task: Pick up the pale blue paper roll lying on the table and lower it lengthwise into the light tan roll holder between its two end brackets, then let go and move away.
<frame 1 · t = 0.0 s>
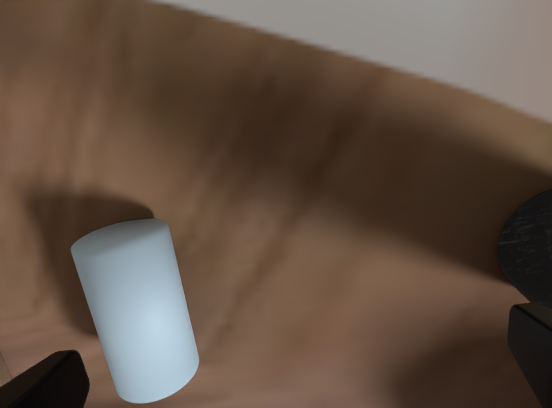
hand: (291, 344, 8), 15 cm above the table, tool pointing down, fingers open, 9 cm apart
roll: (154, 284, 24), on the table
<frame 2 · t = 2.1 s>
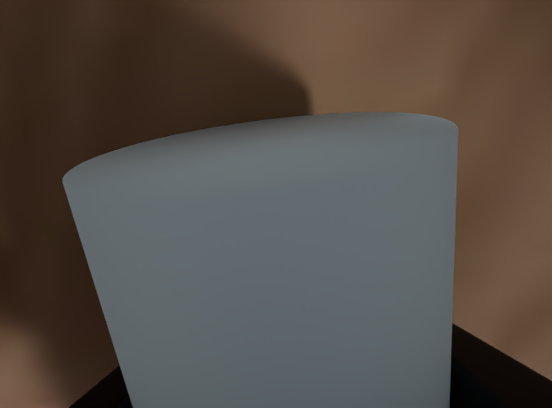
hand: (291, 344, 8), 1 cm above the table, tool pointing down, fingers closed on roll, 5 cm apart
roll: (289, 309, 9), on the table, touching gripper
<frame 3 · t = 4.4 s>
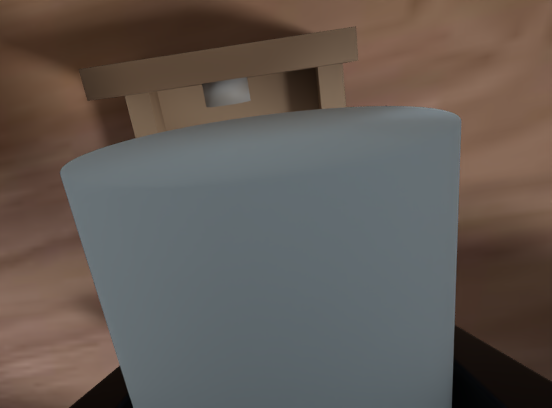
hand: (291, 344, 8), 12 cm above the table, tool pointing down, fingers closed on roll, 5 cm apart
holder: (259, 212, 19), on the table
roll: (290, 306, 9), point 10 cm above the table, touching gripper
when the fingers open (3 cm above the table, at t = 6.5 s): roll drops 1 cm, resting on holder.
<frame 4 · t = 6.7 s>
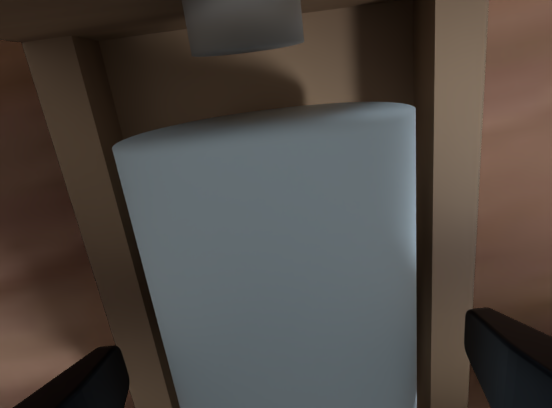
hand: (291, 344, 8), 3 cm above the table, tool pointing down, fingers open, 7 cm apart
holder: (285, 265, 11), on the table
roll: (288, 276, 10), point 1 cm above the table, touching holder
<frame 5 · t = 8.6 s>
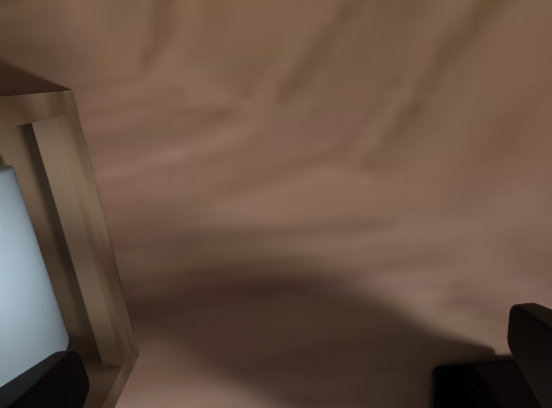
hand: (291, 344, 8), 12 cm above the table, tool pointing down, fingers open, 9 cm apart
holder: (24, 246, 20), on the table
roll: (15, 251, 19), point 1 cm above the table, touching holder
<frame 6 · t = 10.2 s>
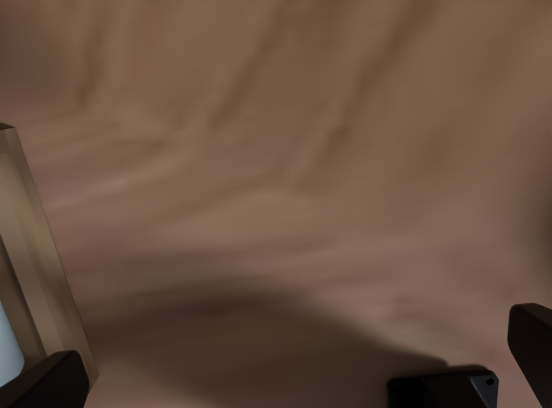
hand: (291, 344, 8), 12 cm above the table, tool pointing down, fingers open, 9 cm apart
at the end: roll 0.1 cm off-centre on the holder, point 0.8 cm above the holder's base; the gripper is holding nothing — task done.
